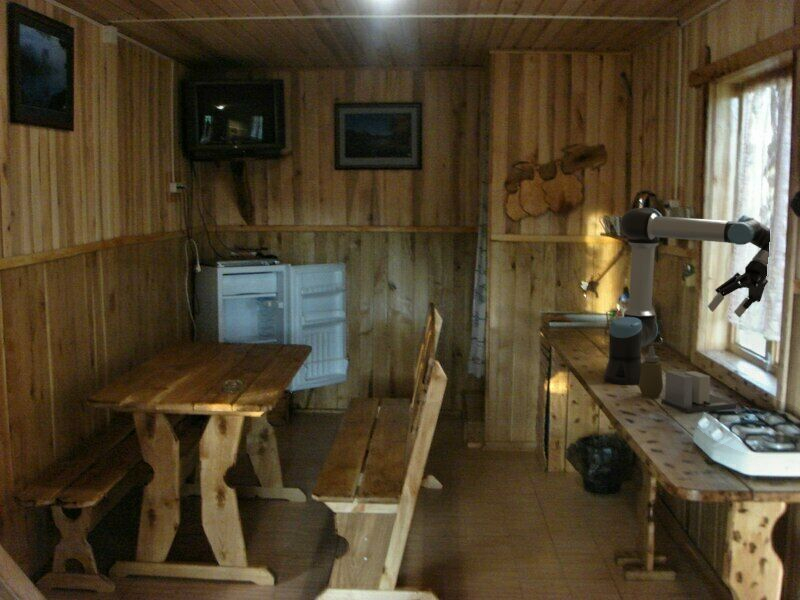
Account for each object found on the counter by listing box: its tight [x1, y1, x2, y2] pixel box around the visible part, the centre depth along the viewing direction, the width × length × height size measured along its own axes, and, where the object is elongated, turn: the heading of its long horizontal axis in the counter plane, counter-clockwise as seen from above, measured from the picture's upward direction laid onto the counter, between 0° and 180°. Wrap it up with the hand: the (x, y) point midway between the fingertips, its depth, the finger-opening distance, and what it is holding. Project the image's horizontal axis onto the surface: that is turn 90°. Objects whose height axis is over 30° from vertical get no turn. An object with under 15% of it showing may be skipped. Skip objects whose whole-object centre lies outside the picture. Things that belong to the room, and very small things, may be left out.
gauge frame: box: [660, 370, 737, 415], centre depth 272 cm, size 14×19×12 cm
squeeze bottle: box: [638, 345, 664, 399], centre depth 285 cm, size 8×8×18 cm
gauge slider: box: [683, 370, 711, 405], centre depth 270 cm, size 10×7×9 cm, turn 18°
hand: (723, 311), depth 281 cm, fingers open, 13 cm apart
